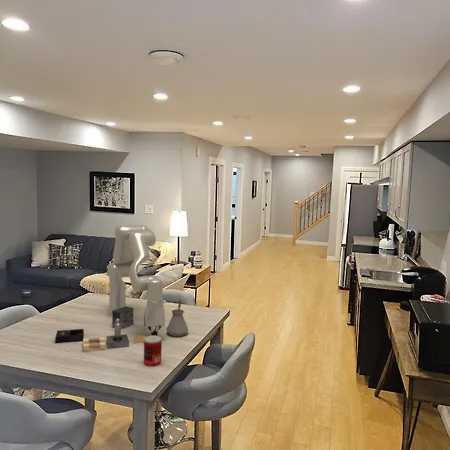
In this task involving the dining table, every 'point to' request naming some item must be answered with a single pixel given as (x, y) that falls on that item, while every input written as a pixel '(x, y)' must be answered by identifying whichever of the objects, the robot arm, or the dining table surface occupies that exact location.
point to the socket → (117, 342)
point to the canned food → (152, 350)
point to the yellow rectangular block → (139, 339)
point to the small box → (123, 317)
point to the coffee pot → (177, 323)
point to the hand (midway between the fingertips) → (154, 338)
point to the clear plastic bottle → (117, 330)
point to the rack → (94, 344)
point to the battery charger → (69, 336)
